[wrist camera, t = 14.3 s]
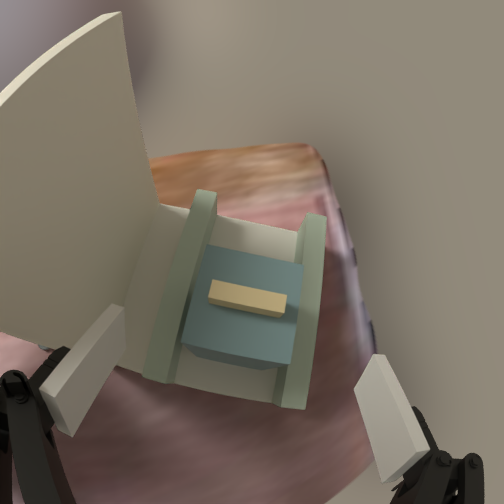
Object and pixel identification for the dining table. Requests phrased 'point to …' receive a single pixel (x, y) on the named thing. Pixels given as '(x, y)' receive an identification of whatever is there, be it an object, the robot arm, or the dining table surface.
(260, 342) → the teal block with bar
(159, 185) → the dining table surface
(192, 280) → the pale green rail stand
